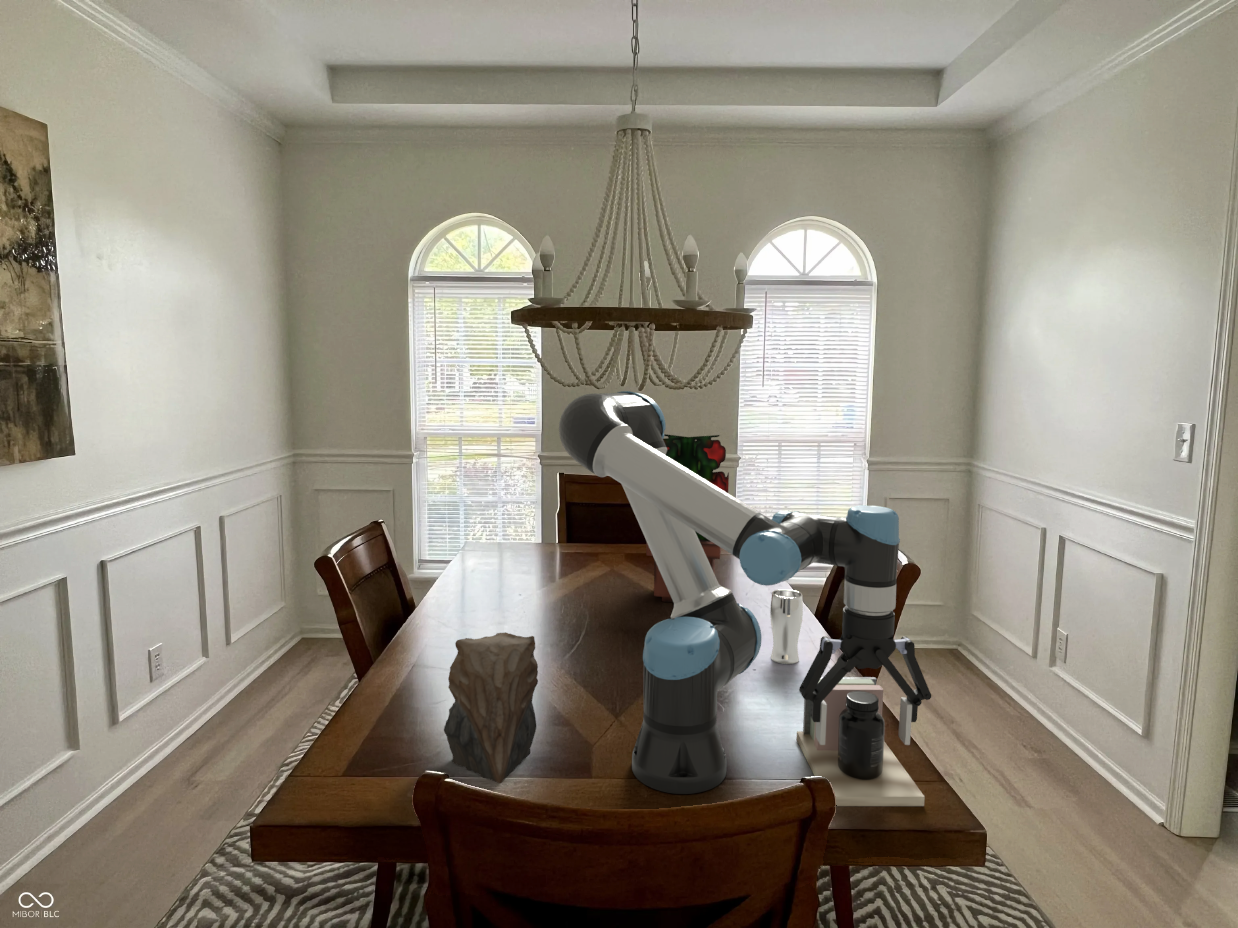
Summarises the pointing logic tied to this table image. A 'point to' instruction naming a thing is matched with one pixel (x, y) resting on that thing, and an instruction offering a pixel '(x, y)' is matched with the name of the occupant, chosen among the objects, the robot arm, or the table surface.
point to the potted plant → (702, 462)
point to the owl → (492, 704)
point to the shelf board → (849, 791)
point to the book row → (842, 708)
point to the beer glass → (786, 625)
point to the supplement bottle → (861, 737)
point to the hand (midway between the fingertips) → (862, 740)
